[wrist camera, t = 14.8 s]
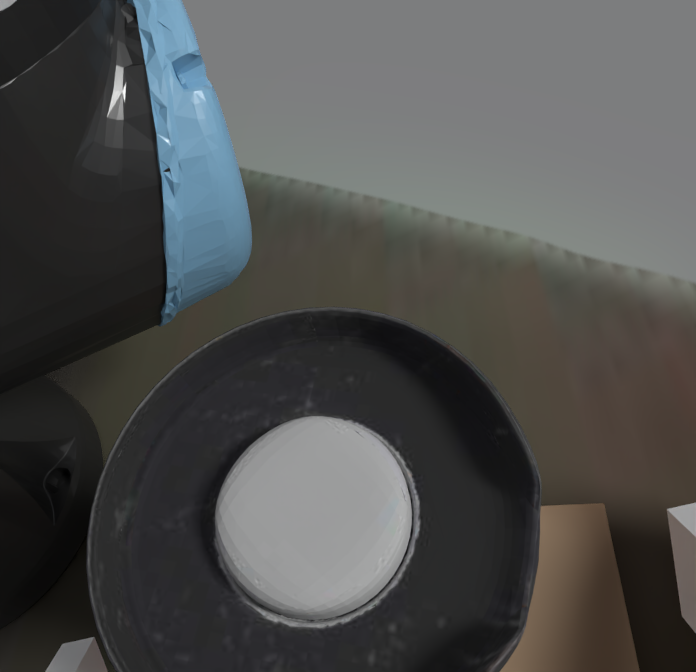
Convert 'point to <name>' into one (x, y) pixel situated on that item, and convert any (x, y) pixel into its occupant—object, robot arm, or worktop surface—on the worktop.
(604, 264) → the worktop surface
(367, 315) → the travel mug
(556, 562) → the walnut board
